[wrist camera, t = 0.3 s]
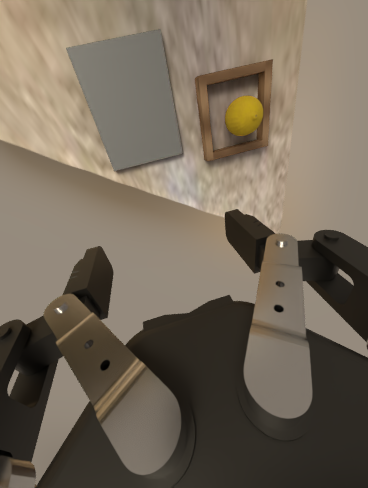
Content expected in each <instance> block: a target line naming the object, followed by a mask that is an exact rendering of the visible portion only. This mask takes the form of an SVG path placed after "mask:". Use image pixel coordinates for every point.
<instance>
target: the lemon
mask: <svg viewBox="0 0 368 488" xmlns="http://www.w3.org/2000/svg"><path fill="white" fill-rule="evenodd" d="M262 118H263V107H262V104H261V102H260V101H259V100H258V99H257V98H255V97H252V96H242V97H239V98H237V99H236V100H234V101H233V102H232V103H231V104H230V105H229V107H228V109H227V111H226V115H225V123H226V127H227V129H228V130H229V131H230V132H231V133H232V134H234V135H236V136H245V135H248V134H250V133H252V132H254V131H255V130H256V129H257V128H258V126H259V125H260V123H261V121H262Z"/></svg>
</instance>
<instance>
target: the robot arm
mask: <svg viewBox="0 0 368 488" xmlns="http://www.w3.org/2000/svg"><path fill="white" fill-rule="evenodd" d="M225 229H226V237H227V239H228V241H229V243H230V244H231V245H232V246H233V248H234V249H235V250H236V251H237V253H238V254H239V255H240V256H241V258H242V259H243V260H244V261H245V262H246V264H247V265H248V266H249V268H250V269H251V270H252V271H253V272H254V273H258V272H260V278H259V284H258V290H257V296H256V302H255V304H253V303H249V302H243V301H233V300H232V299H231V297H230V295H228V296H225V297H221V298H218V299H215V300H211V301H209V302H207V303H205V304H203V305H202V306H200V307H198V308H197V309H195V310H193V311H192V312H190V313H185V314H172V315H163V316H160V317H157V318H154V319H151V320H147V321H145V322H143V330H142V331H140V332H139V333H137V334H136V335H135V336H134V337H133V338H132V339H131V340H129V342H128V343H127V344H126V345H124V344H123V343H122V342H121V341H120V340H119V339H118V338H117V337H116V336H115V335H114V334H113V333H112V332H111V330H110V329H109V328H108V327H107V326H106V325H105V324H104V323H103V322H102V321H101V320H102V319H105V318H107V317H108V310H109V303H110V295H111V288H112V281H113V269H112V265H111V264H110V262H109V260H108V258H107V256H106V254H105V252H104V251H103V249H102V247H100V246H98V247H95V248H90V249H87V250H86V253H85V256H84V258H83V259H81V260H80V261H79V262H78V263H77V264H76V265H75V266H74V269H73V271H72V274H71V276H70V279H69V281H68V283H67V286H66V288H65V291H64V293H63V295H62V296H60V297H58V298H56V299H55V300H53V301H52V302H51V303H50V304H49V305H48V306H47V308H46V309H45V311H44V314H43V316H42V317H40V318H38V319H36V320H34V321H32V322H30V323H28V324H27V325H26V324H25V323H23V322H22V321H21V320H12V321H9V322H7V323H5V324H3V325H2V326H0V488H368V358H367V357H365V356H363V355H361V354H359V353H357V352H355V351H353V350H350V349H348V348H346V347H344V346H342V345H340V344H338V343H336V342H334V341H332V340H330V339H327V338H325V337H323V336H321V335H319V334H317V333H315V332H313V331H311V330H309V329H306V328H305V314H304V296H303V281H307V283H308V284H309V285H310V286H311V287H312V288H314V290H315V291H316V292H317V293H318V294H319V295H320V296H321V297H322V298H323V299H324V300H325V301H326V302H327V303H328V304H329V305H330V306H331V307H332V308H333V309H334V310H335V311H336V312H337V313H338V314H339V315H340V316H341V317H342V318H343V319H344V320H345V321H346V322H347V323H348V324H349V325H350V326H351V327H352V328H353V329H354V330H355V331H356V332H357V333H358V334H359V335H360V336H361V337H362V338H363V339H364V340H365V341H366V342H367V349H368V247H366V246H364V245H363V244H361V243H359V242H358V241H356V240H354V239H352V238H351V237H349V236H347V235H345V234H344V233H341V232H338V231H334V230H321V231H318V232H316V233H315V234H314V238H313V240H305V241H297V240H296V239H295V238H294V237H292V236H290V235H287V234H275V233H274V232H273V231H272V230H270V229H269V228H268V227H266V226H265V225H263V223H261V222H260V221H259V220H257V219H256V218H255V217H253V216H250V215H247V214H246V215H244V214H243V213H241V212H240V211H239V210H238V209H236V210H232V211H228V212H226V213H225ZM339 268H340V269H341V270H342V271H344V272H345V273H346V274H348V275H349V276H350V277H351V278H352V280H353V283H354V286H353V285H352V284H351V283H350V282H348V281H347V280H346V279H344V278H343V277H342V276H341V275H339V274H338V270H339ZM62 356H64V358H65V360H66V361H67V363H68V365H69V366H70V368H71V370H72V371H73V373H74V375H75V376H76V378H77V380H78V381H79V383H80V385H81V387H82V388H83V390H84V392H85V393H86V395H87V396H88V398H89V400H90V402H89V403H88V404H87V406H86V408H85V409H84V411H83V412H82V414H81V416H80V417H79V419H78V421H77V422H76V424H75V425H74V427H73V428H72V430H71V432H70V433H69V435H68V436H67V438H66V440H65V441H64V443H63V445H62V446H61V448H60V449H59V451H58V453H57V454H56V456H55V457H54V459H53V461H52V462H51V464H50V465H49V467H48V468H47V470H46V472H45V473H44V475H43V476H42V478H41V480H40V481H39V483H38V485H36V484H35V479H36V471H35V467H34V465H33V464H32V463H31V461H32V458H33V454H34V450H35V446H36V442H37V439H38V435H39V431H40V427H41V423H42V420H43V416H44V412H45V408H46V404H47V401H48V397H49V393H50V389H51V386H52V382H53V378H54V374H55V370H56V367H57V363H58V359H59V358H61V357H62ZM14 370H17V371H19V374H18V377H17V379H16V382H15V384H14V386H13V389H12V391H11V394H10V396H8V393H7V388H8V384H9V381H10V379H11V377H12V374H13V372H14Z"/></svg>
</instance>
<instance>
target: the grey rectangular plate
mask: <svg viewBox="0 0 368 488" xmlns="http://www.w3.org/2000/svg"><path fill="white" fill-rule="evenodd" d="M66 50H67V52H68V55H69V57H70V60H71V62H72V65H73V67H74V70H75V73H76V75H77V78H78V80H79V83H80V85H81V88H82V90H83V93H84V95H85V98H86V101H87V103H88V106H89V108H90V111H91V113H92V116H93V118H94V121H95V123H96V126H97V129H98V131H99V134H100V136H101V139H102V141H103V144H104V146H105V149H106V151H107V154H108V157H109V159H110V162H111V164H112V167H113V169H114V171H117V170H121V169H125V168H129V167H133V166H137V165H140V164H144V163H148V162H152V161H156V160H160V159H164V158H168V157H172V156H176V155H180V154H183V152H182V146H181V141H180V135H179V130H178V124H177V119H176V113H175V107H174V102H173V96H172V91H171V85H170V80H169V74H168V69H167V63H166V58H165V52H164V46H163V41H162V35H161V30H160V29H158V30H153V31H148V32H143V33H138V34H133V35H128V36H123V37H118V38H113V39H108V40H103V41H98V42H93V43H88V44H83V45H78V46H73V47H68V48H66Z"/></svg>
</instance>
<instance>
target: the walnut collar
mask: <svg viewBox="0 0 368 488" xmlns="http://www.w3.org/2000/svg"><path fill="white" fill-rule="evenodd" d="M272 63H273V59H272V60H268V61H263V62H259V63H254V64H250V65H245V66H241V67H236V68H232V69H227V70H223V71H218V72H214V73H209V74H205V75H200V76H198V77H196V78H195V85H196V93H197V102H198V110H199V118H200V126H201V135H202V143H203V151H204V159H205V160H206V161H211V160H215V159H218V158H222V157H226V156H230V155H234V154H238V153H241V152H245V151H249V150H253V149H257V148H261V147H264V146H268V133H269V115H270V98H271V81H272ZM255 74H258V100H259V101H260V102H261V104H262V107H263V118H262V121H261V123H260V125H259V126H258V128H257V140H253V141H249V142H245V143H241V144H238V145H234V146H230V147H226V148H222V149H218V150H214V151H213V147H212V136H211V126H210V115H209V105H208V94H207V85H212V84H216V83H220V82H225V81H229V80H234V79H238V78H242V77H247V76H251V75H255Z"/></svg>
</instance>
